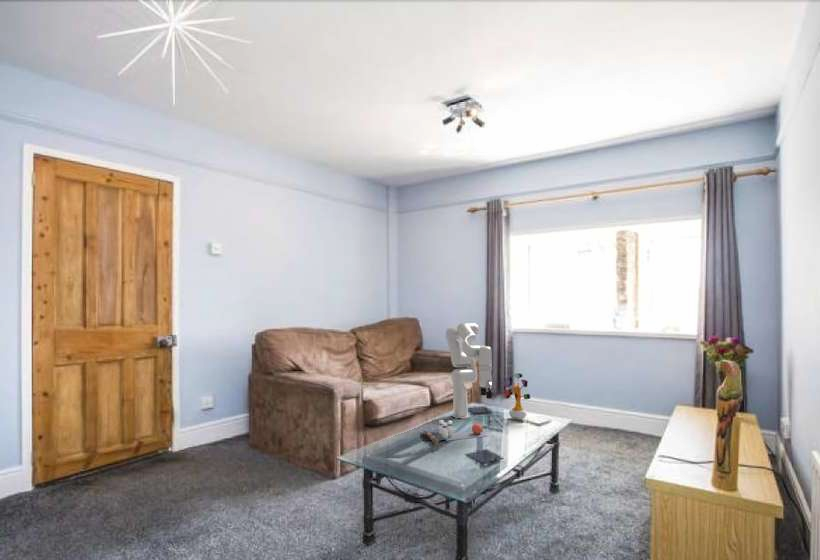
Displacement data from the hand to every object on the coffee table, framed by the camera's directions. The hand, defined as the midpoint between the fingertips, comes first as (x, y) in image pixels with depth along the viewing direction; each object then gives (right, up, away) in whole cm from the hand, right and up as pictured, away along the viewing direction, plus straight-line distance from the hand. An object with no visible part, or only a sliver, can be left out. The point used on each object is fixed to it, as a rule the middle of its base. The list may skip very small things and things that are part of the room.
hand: (486, 396), depth 259 cm
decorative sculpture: (+25, -22, +27) cm, 43 cm away
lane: (-16, -21, -7) cm, 28 cm away
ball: (-6, -18, -3) cm, 19 cm away
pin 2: (-26, -21, -12) cm, 35 cm away
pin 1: (-27, -21, -7) cm, 35 cm away
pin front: (-22, -21, -8) cm, 32 cm away
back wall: (-33, -21, -12) cm, 41 cm away
